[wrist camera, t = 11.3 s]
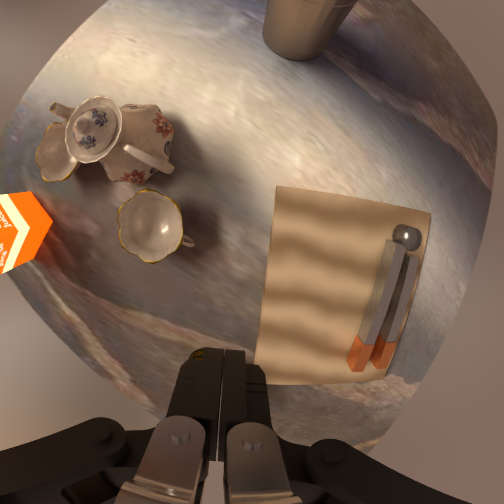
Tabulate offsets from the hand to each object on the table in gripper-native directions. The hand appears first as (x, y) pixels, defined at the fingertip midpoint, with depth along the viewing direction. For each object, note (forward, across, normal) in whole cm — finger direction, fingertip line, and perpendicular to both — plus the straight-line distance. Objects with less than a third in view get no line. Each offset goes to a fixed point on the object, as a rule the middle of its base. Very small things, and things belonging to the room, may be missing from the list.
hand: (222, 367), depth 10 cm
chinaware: (+27, +16, -9) cm, 33 cm away
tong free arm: (+25, -22, +7) cm, 34 cm away
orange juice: (+27, +35, +1) cm, 44 cm away
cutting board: (+27, -16, +8) cm, 33 cm away
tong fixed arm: (+25, -25, +9) cm, 36 cm away
